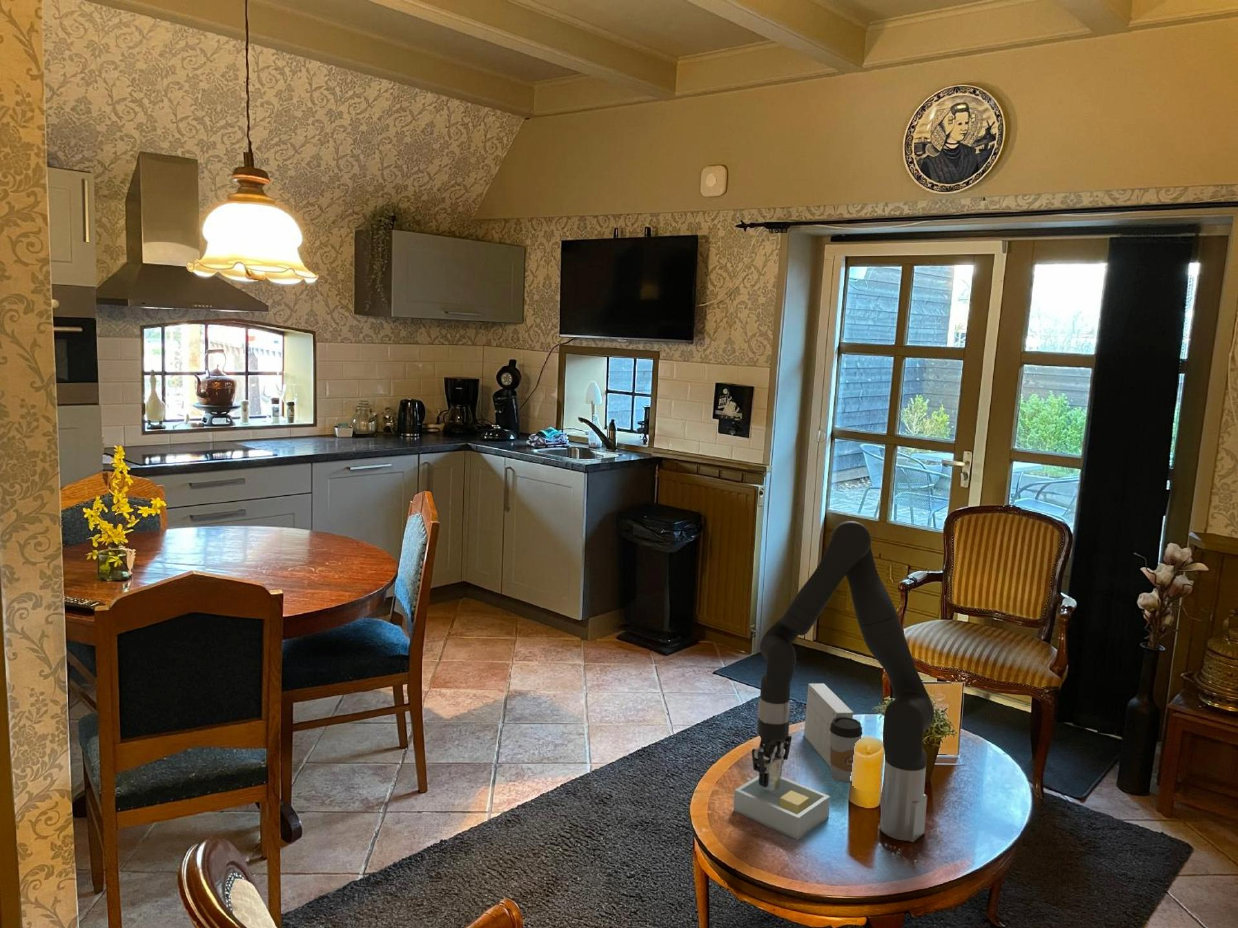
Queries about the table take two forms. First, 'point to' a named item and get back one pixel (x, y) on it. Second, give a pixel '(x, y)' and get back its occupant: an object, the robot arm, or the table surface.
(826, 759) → the skincare box
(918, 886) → the table surface
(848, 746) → the coffee cup
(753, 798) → the tote
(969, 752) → the table surface
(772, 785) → the metal cylinder
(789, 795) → the ochre cube
